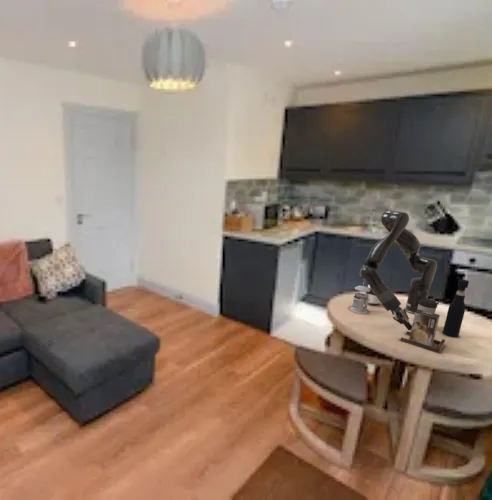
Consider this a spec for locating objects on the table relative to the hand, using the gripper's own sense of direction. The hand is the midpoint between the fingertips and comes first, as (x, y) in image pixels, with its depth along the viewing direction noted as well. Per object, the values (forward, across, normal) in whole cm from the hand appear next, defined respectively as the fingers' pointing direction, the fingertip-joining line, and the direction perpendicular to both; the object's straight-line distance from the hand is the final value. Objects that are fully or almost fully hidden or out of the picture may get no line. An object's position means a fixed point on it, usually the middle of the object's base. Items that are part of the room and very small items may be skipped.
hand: (411, 329), depth 185 cm
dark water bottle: (+13, +22, -5) cm, 26 cm away
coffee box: (+8, 0, 0) cm, 8 cm away
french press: (-16, +18, +24) cm, 35 cm away
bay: (+7, 0, 0) cm, 7 cm away
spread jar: (-17, +35, +25) cm, 47 cm away
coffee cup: (+5, +22, +3) cm, 23 cm away
